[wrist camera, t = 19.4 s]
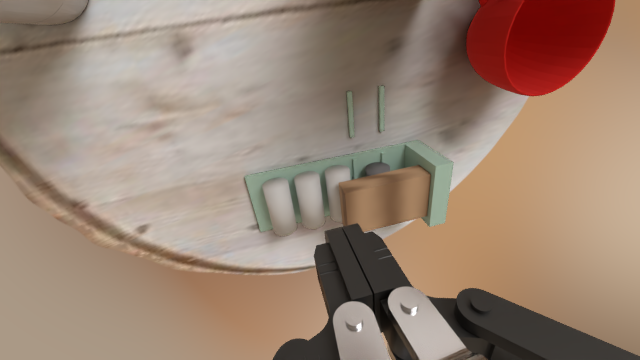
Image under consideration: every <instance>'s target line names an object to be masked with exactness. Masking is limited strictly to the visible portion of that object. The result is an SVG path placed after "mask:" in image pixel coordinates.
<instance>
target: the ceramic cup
mask: <svg viewBox="0 0 640 360" xmlns="http://www.w3.org/2000/svg"><path fill="white" fill-rule="evenodd" d="M479 3H480V5H481V7H480V8H479V10H478V11H477V13H476V14H475V16H474V18H473V20H472V22H471V24H470V26H469V29H468V32H467V37H466V48H467V55H468V58H469V61H470V63H471V65H472V67H473V68H474V70H475V71H476V72H477V73H478V74H479V75H480V76H481V77H482V78H483V79H484V80H486V81H487V82H489V83H491V84H493V85H495V86H497V87H500V88H502V89H505V90H507V91H510V92H513V93H517V94H520V95H527V96H539V95H545V94H548V93H551V92H553V91H555V90H557V89H559V88H560V87H562V86H564V85H565V84H567V83H568V82H569V81H570V80H572V79H573V78H574V77H575V76H576V75H577V74H578V73H579V72H581V70H582V69H583V68H584V67H585V66H586V65H587V64H588V62H589V61H590V60H591V59H592V57H593V56H594V54H595V53H596V51H597V50H598V48H599V46H600V45H601V43H602V41H603V39H604V37H605V35H606V33H607V30H608V27H609V25H610V23H611V19H612V16H613V12H614V7H615V0H479Z"/></svg>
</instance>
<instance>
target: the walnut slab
mask: <svg viewBox="0 0 640 360" xmlns="http://www.w3.org/2000/svg"><path fill="white" fill-rule="evenodd" d="M430 181H431V174H430V173H429V172H428V171H426V170H425V169H424V168H423V167H421V166H420V165H416V166H412V167H407V168H403V169H398V170H394V171H389V172H385V173H380V174H376V175H371V176H367V177H362V178H358V179H353V180H348V181H344V182H339V183H338V184H339V194H340V204H341V214H342V223H343V225H344V226H347V225H351V224H355V223H358V224H359V225H360V227H361V229H362V231H363V232H365V231H369V230H373V229H377V228H381V227H385V226H389V225H393V224H397V223H401V222H405V221H409V220H413V219H417V218H421V217H425V216H427V211H428V201H429V191H430Z"/></svg>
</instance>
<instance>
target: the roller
mask: <svg viewBox="0 0 640 360" xmlns="http://www.w3.org/2000/svg"><path fill="white" fill-rule="evenodd" d="M365 169H366V177H367V176H371V175H376V174H380V173H385V172H389V171H390V166H389V165H388V164H386V163H383V162H374V163H370V164H368V165H367V166H366V168H365Z"/></svg>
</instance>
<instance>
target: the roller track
mask: <svg viewBox="0 0 640 360" xmlns="http://www.w3.org/2000/svg"><path fill="white" fill-rule="evenodd" d="M374 162H383V163H386V164H388V165H389V166H390V171H394V170H398V169H403V168H407V167H412V166H416V165H420V166H421V167H423V168H424V169H425V170H426V171H428V172H429V173H430V174H431V181H430V191H429V201H428V211H427V216H425V217H421V218H422V219H423V220H424V221H425V223H427V225H428V226H429V227H431V226H435V225H438V224H442V223H445V219H446V212H447V205H448V198H449V191H450V184H451V177H452V170H453V163H454V162H452V161H450V160H449V159H447V158H446V157H444V156H443V155H441V154H440V153H438V152H436V151H435V150H433V149H432V148H430V147H429V146H427V145H425V144H424V143H422V142H421V141H419V140H415V141H411V142H406V143H401V144H396V145H391V146H387V147H382V148H377V149H372V150H367V151H362V152H358V153H353V154H348V155H343V156H338V157H334V158H329V159H324V160H319V161H314V162H309V163H305V164H300V165H295V166H290V167H285V168H280V169H276V170H271V171H266V172H261V173H256V174H252V175H247V176H245V181H246V184H247V187H248V191H249V194H250V198H251V201H252V204H253V208H254V211H255V215H256V218H257V221H258V225H259V228H260V231H261V232H263V231H267V230H271V229H274V233H275V234H276V235H278V236H288V235H290V234H292V233H294V232H295V231H296V229H297V223H301V222H302V223H303V226H304V227H305V228H308V229H317V228H320V227H321V226H323V225H324V223H325V217H326V216H330V217H331V219H332V220H333V221H336V222H342V214H341V204H340V194H339V184H338V183H339V182H344V181H348V180H353V179H358V178H362V177H366V169H365V168H366V166H367V165H368V164H370V163H374Z"/></svg>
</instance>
